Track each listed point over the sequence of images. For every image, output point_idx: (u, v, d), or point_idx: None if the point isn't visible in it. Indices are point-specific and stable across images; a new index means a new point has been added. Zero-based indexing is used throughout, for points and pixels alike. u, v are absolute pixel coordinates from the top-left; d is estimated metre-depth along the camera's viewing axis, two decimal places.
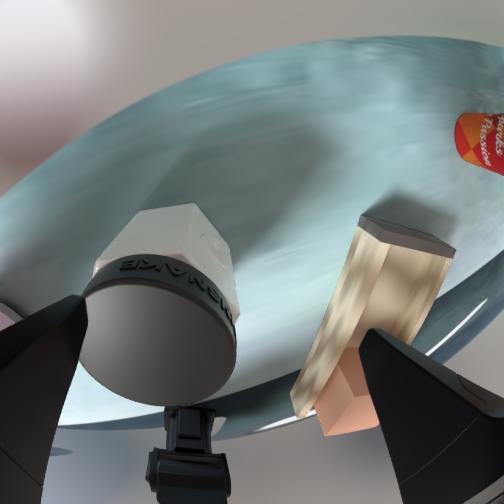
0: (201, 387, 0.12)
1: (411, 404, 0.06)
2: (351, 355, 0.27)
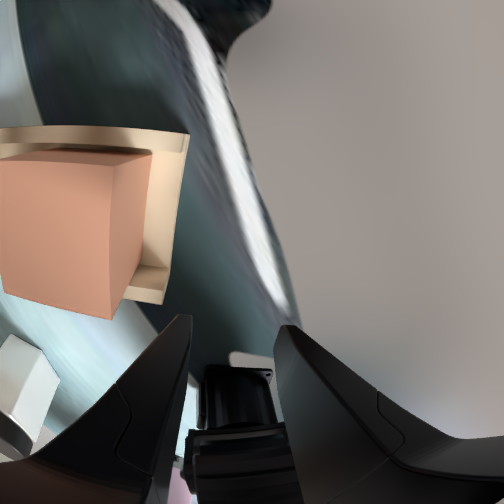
0: None
1: (313, 422, 0.05)
2: None
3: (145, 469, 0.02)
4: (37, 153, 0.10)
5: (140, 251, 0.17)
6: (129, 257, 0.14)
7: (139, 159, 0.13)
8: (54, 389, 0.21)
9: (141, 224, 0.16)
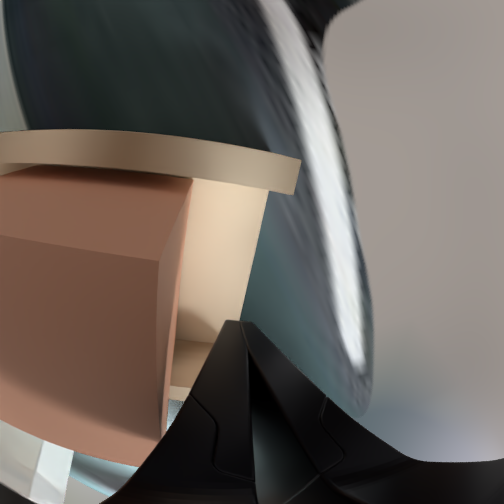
0: None
1: (257, 425, 0.05)
2: None
3: (247, 475, 0.03)
4: None
5: None
6: (170, 359, 0.09)
7: (185, 199, 0.07)
8: (72, 452, 0.16)
9: (178, 292, 0.11)
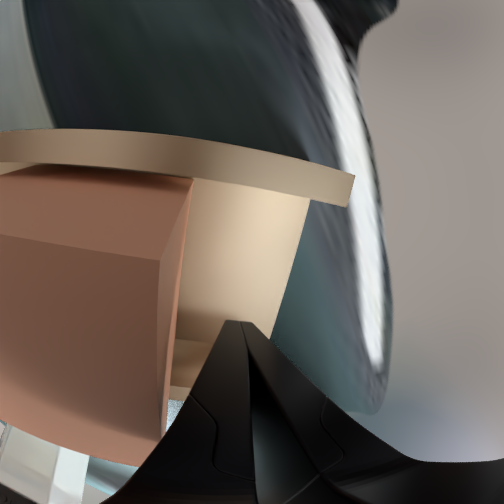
0: None
1: (257, 425, 0.05)
2: None
3: (247, 475, 0.03)
4: None
5: (175, 326, 0.12)
6: (170, 358, 0.09)
7: (185, 199, 0.07)
8: (87, 457, 0.16)
9: (178, 292, 0.11)
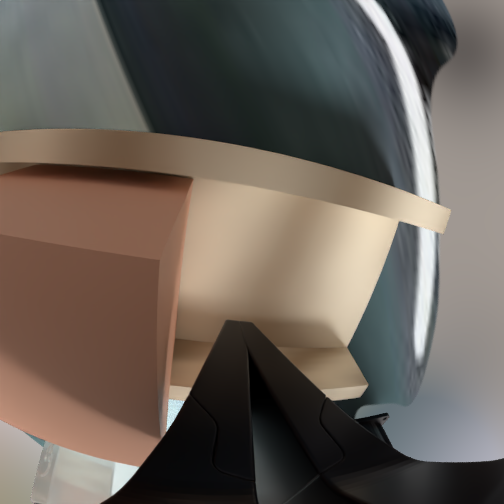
0: None
1: (257, 425, 0.05)
2: None
3: (247, 475, 0.03)
4: None
5: (175, 326, 0.12)
6: (170, 358, 0.09)
7: (185, 198, 0.07)
8: (136, 468, 0.17)
9: (178, 292, 0.11)
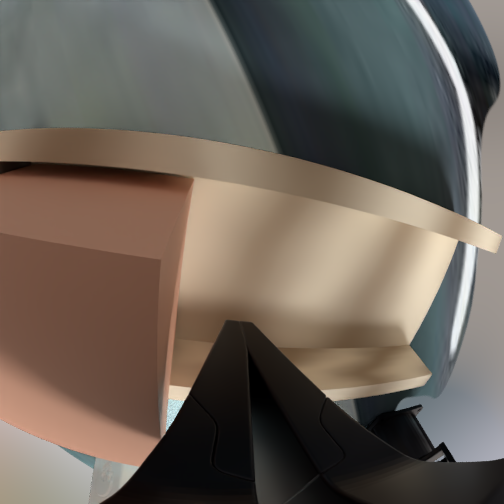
0: None
1: (257, 425, 0.05)
2: None
3: (247, 475, 0.03)
4: None
5: (175, 326, 0.12)
6: None
7: (186, 198, 0.07)
8: None
9: (178, 292, 0.11)
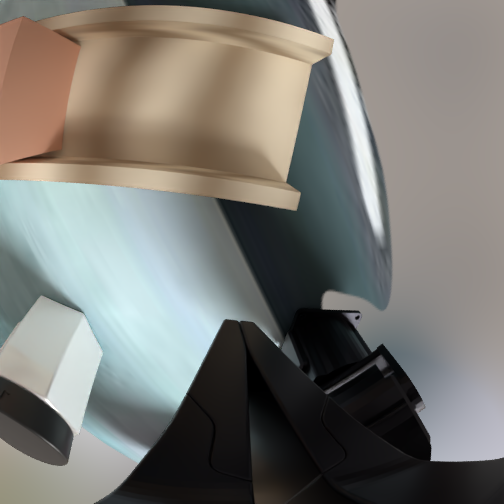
0: (19, 428, 0.09)
1: (258, 425, 0.05)
2: None
3: (244, 476, 0.03)
4: None
5: (59, 138, 0.13)
6: (36, 125, 0.10)
7: (58, 35, 0.08)
8: (97, 363, 0.20)
9: (61, 107, 0.12)
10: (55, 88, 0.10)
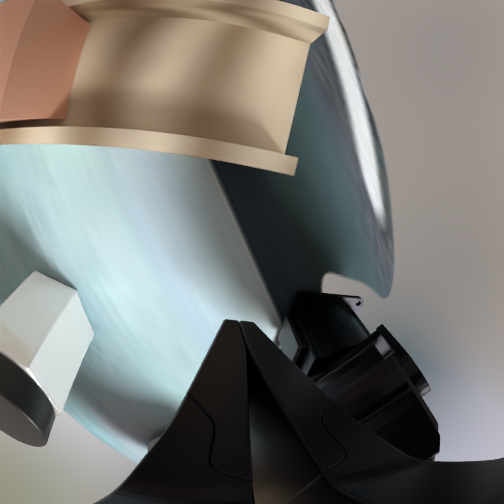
0: None
1: (258, 425, 0.05)
2: None
3: (244, 476, 0.03)
4: None
5: (64, 108, 0.13)
6: (43, 90, 0.10)
7: (71, 10, 0.08)
8: (87, 343, 0.19)
9: (68, 78, 0.12)
10: (64, 59, 0.10)
